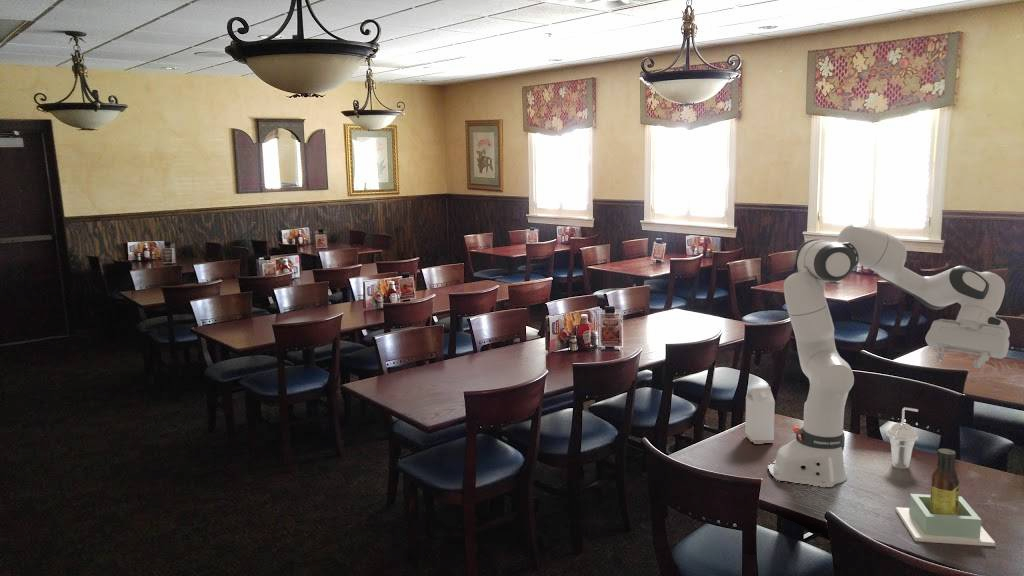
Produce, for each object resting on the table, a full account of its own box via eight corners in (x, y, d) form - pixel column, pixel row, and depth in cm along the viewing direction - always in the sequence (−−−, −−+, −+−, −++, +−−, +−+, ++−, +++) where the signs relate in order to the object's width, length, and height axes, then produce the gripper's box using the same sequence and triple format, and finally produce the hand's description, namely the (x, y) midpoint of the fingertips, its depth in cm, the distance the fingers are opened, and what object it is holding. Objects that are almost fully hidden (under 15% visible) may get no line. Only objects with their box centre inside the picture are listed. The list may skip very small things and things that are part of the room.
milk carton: (745, 437, 251) (746, 385, 248) (764, 435, 252) (766, 383, 248) (753, 445, 244) (754, 391, 241) (773, 443, 245) (775, 390, 241)
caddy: (915, 541, 182) (916, 519, 181) (895, 510, 198) (896, 490, 197) (994, 546, 179) (996, 523, 177) (968, 514, 194) (970, 493, 193)
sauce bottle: (960, 530, 184) (966, 457, 181) (933, 529, 186) (939, 456, 182) (950, 518, 191) (956, 447, 187) (924, 516, 192) (929, 446, 188)
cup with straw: (908, 460, 228) (912, 399, 225) (921, 472, 220) (926, 409, 216) (880, 459, 229) (884, 399, 226) (892, 472, 220) (896, 409, 217)
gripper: (932, 311, 213) (915, 350, 209) (1012, 322, 197) (995, 364, 193) (937, 323, 217) (921, 361, 213) (1016, 335, 201) (1000, 376, 197)
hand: (957, 363), depth 203 cm, fingers open, 8 cm apart
